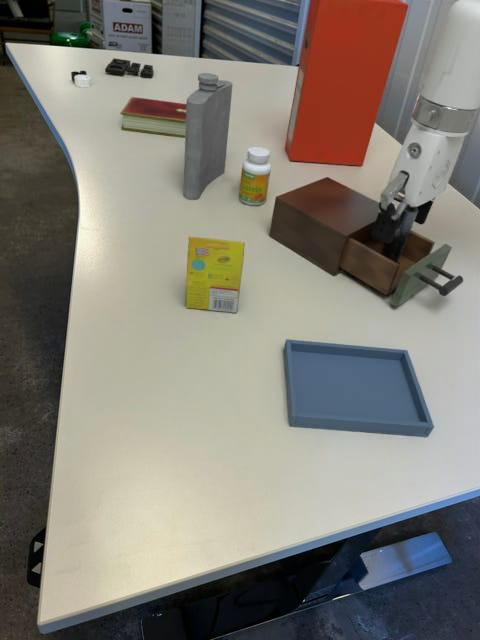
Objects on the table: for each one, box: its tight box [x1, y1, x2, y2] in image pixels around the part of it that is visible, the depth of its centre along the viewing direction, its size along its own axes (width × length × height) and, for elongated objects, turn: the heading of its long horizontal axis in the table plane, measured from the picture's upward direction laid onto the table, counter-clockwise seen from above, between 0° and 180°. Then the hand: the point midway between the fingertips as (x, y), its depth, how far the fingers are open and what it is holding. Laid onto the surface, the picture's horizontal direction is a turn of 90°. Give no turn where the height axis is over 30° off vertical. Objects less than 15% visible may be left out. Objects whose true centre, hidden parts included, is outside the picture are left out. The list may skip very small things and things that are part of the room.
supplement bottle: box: [238, 146, 272, 206], centre depth 90 cm, size 5×5×10 cm
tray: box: [283, 338, 435, 438], centre depth 59 cm, size 16×12×2 cm
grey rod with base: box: [381, 204, 418, 265], centre depth 74 cm, size 4×5×10 cm
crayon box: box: [185, 236, 246, 314], centre depth 65 cm, size 7×3×12 cm, turn 88°
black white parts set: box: [70, 57, 154, 89], centre depth 140 cm, size 20×25×3 cm
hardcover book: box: [120, 96, 186, 139], centre depth 116 cm, size 12×21×4 cm, turn 88°
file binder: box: [284, 0, 409, 167], centre depth 103 cm, size 8×17×32 cm, turn 95°
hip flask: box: [182, 72, 233, 201], centre depth 90 cm, size 16×4×20 cm, turn 160°
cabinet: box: [268, 176, 380, 277], centre depth 82 cm, size 15×14×8 cm
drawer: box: [339, 225, 464, 308], centre depth 75 cm, size 18×13×6 cm
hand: (398, 229), depth 73 cm, fingers open, 9 cm apart
